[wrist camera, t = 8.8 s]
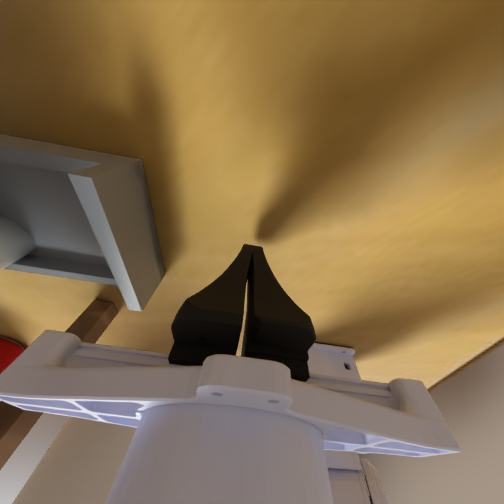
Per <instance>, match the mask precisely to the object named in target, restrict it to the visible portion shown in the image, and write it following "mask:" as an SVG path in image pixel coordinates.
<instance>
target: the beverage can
mask: <svg viewBox="0 0 504 504" xmlns="http://www.w3.org/2000/svg"><path fill="white" fill-rule="evenodd" d="M23 352H24V350H23V346H22V345H21V344H19V343H18V342H16V341H13V340H11V339H8V338H5V337H2V336H0V374H1V373H2V372H3V371H4V370H5V369H6V368H7V367H8V366H9V365H10V364H11V363H12V362H13V361H14V360H15V359H16V358H18V357H19V356H20V355H21V354H22V353H23Z"/></svg>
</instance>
